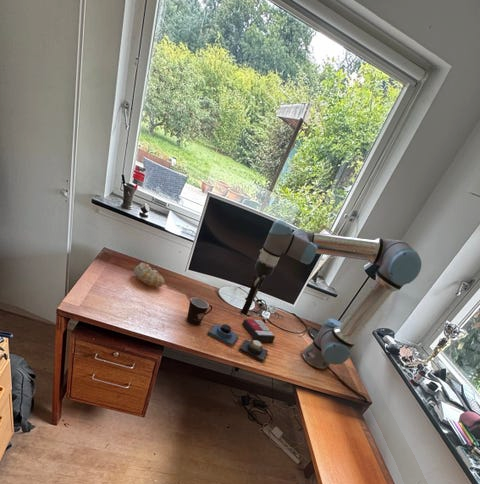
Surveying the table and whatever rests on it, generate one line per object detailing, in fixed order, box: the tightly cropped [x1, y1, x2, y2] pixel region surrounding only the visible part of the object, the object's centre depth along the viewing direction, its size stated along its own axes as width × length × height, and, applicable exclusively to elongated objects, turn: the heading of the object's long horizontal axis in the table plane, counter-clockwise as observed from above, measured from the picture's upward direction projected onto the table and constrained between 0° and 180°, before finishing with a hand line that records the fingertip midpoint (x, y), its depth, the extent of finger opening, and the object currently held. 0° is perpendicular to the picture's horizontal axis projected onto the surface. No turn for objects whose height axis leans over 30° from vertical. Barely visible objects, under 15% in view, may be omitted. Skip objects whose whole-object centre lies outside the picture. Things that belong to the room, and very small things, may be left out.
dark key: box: [221, 323, 232, 333], centre depth 158 cm, size 4×4×2 cm
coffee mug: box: [186, 297, 213, 326], centre depth 157 cm, size 12×9×10 cm
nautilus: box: [133, 261, 166, 288], centre depth 169 cm, size 8×22×15 cm
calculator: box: [242, 318, 276, 343], centre depth 174 cm, size 11×4×15 cm
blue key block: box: [207, 323, 239, 347], centre depth 159 cm, size 12×10×4 cm
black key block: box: [238, 339, 269, 363], centre depth 159 cm, size 12×10×4 cm
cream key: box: [252, 339, 263, 349], centre depth 158 cm, size 4×4×2 cm
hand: (243, 313), depth 151 cm, fingers closed
